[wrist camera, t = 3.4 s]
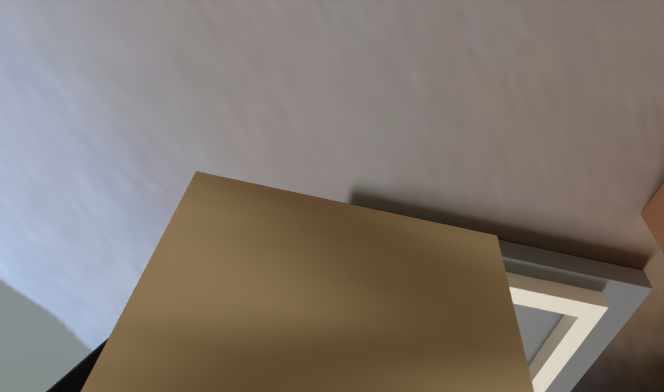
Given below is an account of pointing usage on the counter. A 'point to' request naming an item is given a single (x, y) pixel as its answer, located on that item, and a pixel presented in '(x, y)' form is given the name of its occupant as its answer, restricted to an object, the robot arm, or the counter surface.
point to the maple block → (313, 302)
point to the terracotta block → (656, 216)
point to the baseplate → (567, 310)
